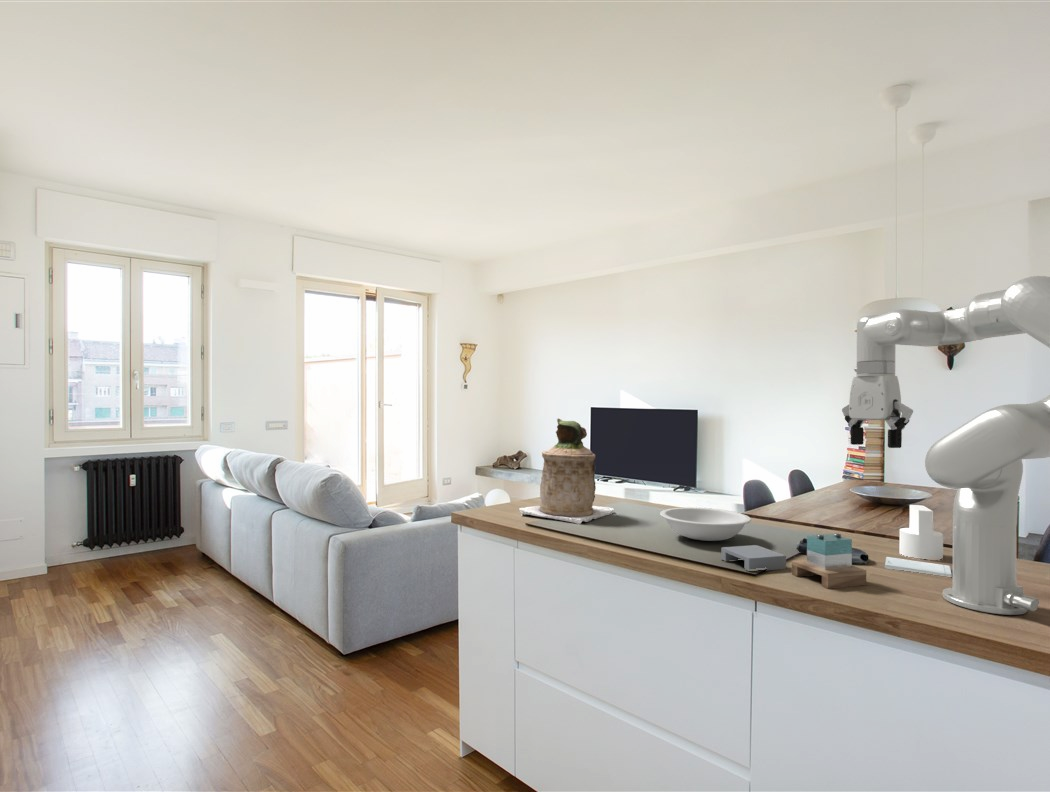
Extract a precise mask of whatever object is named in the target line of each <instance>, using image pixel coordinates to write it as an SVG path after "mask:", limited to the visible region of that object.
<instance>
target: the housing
mask: <svg viewBox="0 0 1050 792" xmlns="http://www.w3.org/2000/svg"><path fill="white" fill-rule="evenodd" d="M806 539H807V554H806V560H807V564H809V565H812V566H815V567H818V568H821V569H824V570H832V569H843V568H852V566H853V564H852V548H853V543H852V542H853V540H852V539H851V538H849V537H846V536H845V537H844V536H842V534H841V533H830V534H829V533H828V534H816V535H806Z"/></svg>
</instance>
